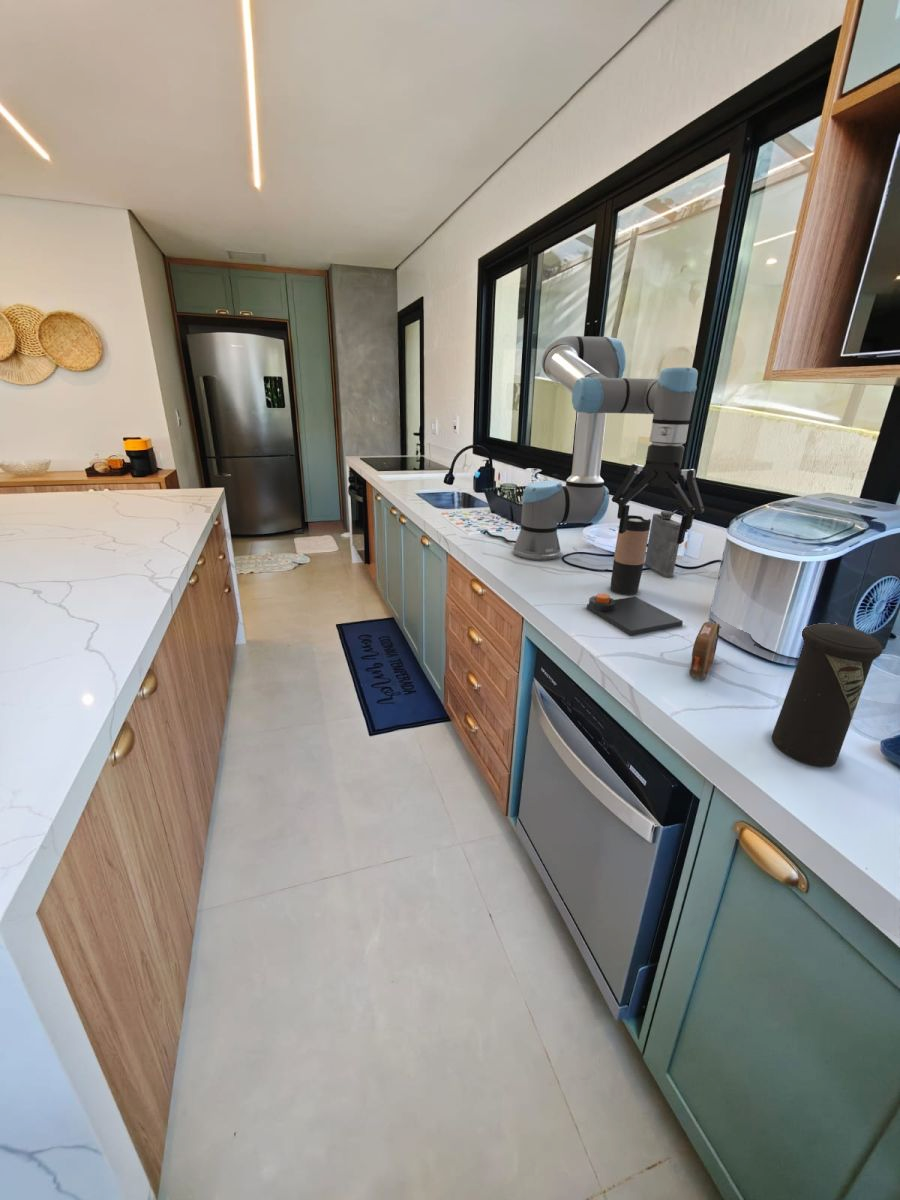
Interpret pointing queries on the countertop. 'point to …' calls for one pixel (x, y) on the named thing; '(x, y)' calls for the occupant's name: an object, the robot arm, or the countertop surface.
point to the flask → (663, 544)
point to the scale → (633, 615)
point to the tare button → (602, 598)
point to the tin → (704, 650)
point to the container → (824, 692)
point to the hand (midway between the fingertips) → (650, 537)
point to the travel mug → (630, 556)
